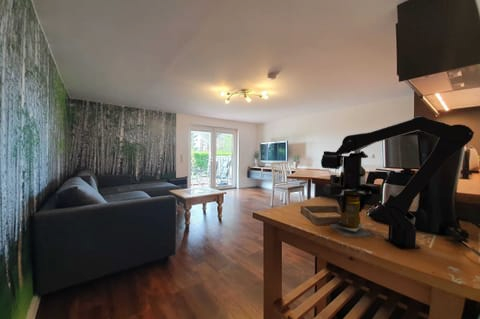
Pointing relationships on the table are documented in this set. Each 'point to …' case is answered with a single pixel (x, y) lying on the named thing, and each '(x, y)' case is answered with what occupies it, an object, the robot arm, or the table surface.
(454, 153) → the robot arm
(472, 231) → the table surface
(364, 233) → the rubber mat
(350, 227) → the condiment
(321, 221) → the wooden tray
